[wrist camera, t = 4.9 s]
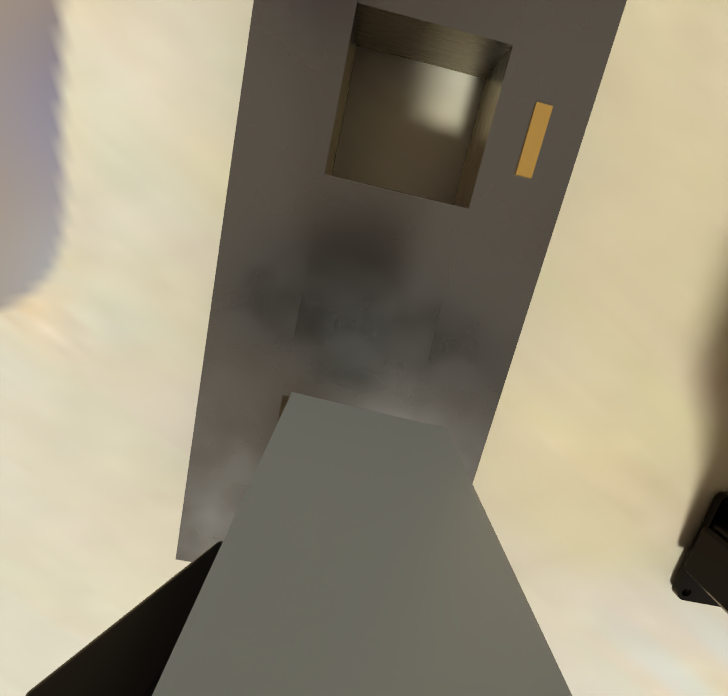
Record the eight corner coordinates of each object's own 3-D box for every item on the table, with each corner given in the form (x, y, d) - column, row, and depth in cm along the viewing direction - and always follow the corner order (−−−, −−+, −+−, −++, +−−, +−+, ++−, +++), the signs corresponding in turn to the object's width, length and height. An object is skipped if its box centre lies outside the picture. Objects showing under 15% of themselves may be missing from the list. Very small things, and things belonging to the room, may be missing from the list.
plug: (445, 428, 11) (827, 1234, 2) (403, 558, 12) (537, 1505, 3) (291, 391, 10) (-55, 1142, 2) (261, 527, 11) (-68, 1470, 3)
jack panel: (590, 8, 17) (642, -44, 14) (423, 557, 23) (434, 605, 20) (289, -77, 16) (274, -152, 13) (200, 516, 22) (174, 560, 19)
